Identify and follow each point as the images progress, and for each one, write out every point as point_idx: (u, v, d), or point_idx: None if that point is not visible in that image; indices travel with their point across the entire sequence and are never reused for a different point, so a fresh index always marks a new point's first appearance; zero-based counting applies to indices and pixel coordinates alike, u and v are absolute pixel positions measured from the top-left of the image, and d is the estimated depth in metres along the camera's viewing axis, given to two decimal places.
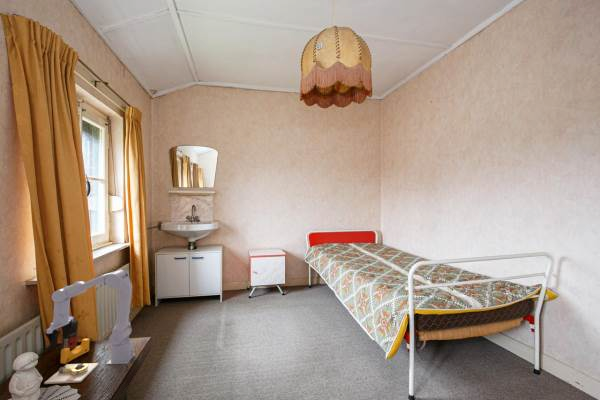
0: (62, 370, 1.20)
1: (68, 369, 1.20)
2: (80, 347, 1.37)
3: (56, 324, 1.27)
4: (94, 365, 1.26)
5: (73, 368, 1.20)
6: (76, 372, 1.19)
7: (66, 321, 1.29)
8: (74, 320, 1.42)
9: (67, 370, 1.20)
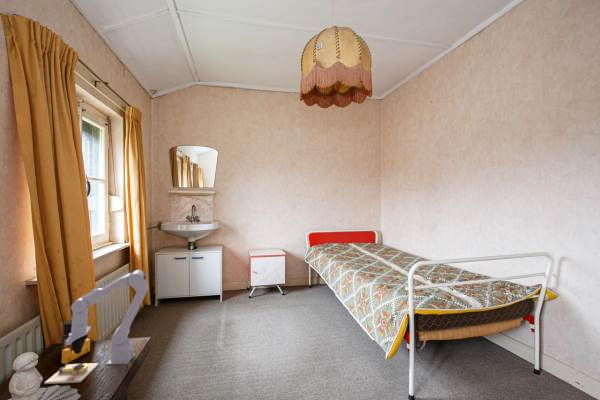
0: (62, 370, 1.20)
1: (68, 369, 1.20)
2: None
3: (74, 335, 1.24)
4: (94, 365, 1.26)
5: (73, 368, 1.20)
6: (76, 372, 1.19)
7: (84, 332, 1.27)
8: None
9: (67, 370, 1.20)
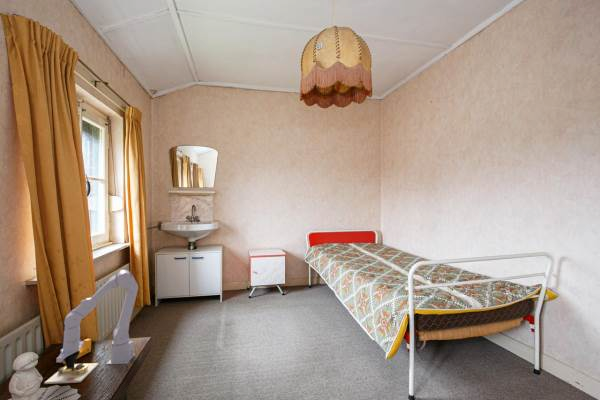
0: (62, 370, 1.19)
1: (68, 369, 1.20)
2: (82, 347, 1.37)
3: (66, 351, 1.19)
4: (94, 365, 1.26)
5: (73, 368, 1.20)
6: (76, 372, 1.19)
7: (77, 347, 1.22)
8: None
9: (67, 370, 1.20)
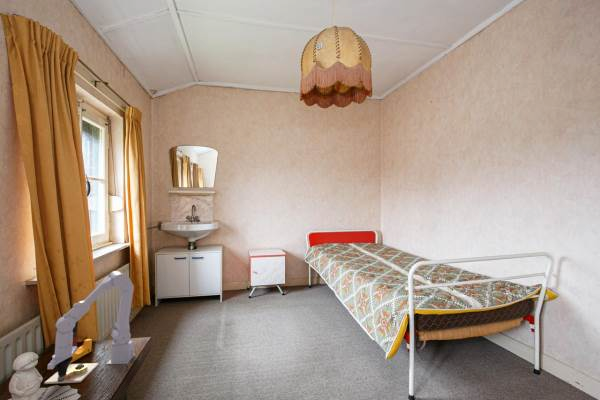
0: (64, 377, 1.15)
1: (70, 373, 1.17)
2: (83, 347, 1.37)
3: (58, 357, 1.14)
4: (94, 365, 1.26)
5: (75, 370, 1.19)
6: (85, 369, 1.21)
7: (69, 353, 1.17)
8: None
9: (69, 375, 1.17)
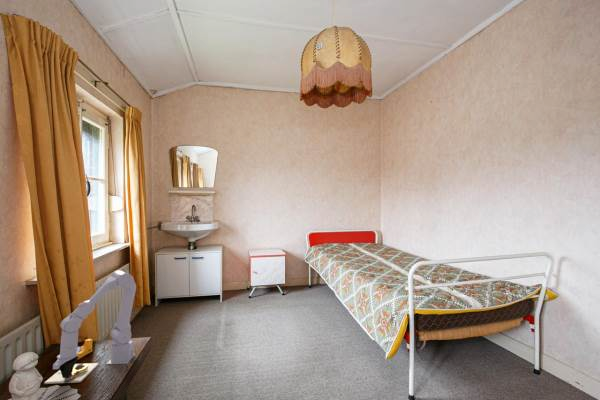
0: (71, 377, 1.15)
1: (74, 373, 1.17)
2: (83, 348, 1.37)
3: (63, 358, 1.14)
4: (94, 365, 1.26)
5: (78, 370, 1.19)
6: (87, 367, 1.22)
7: (74, 354, 1.17)
8: None
9: (74, 375, 1.17)
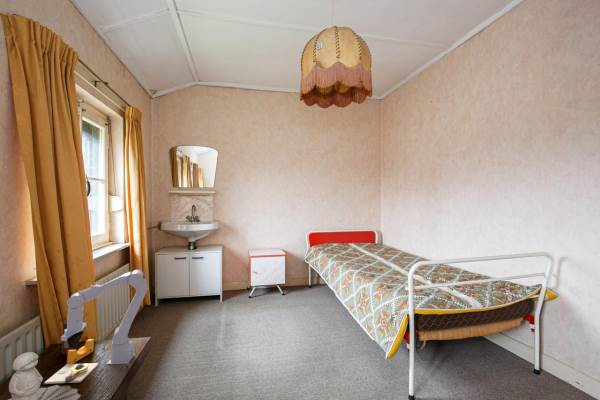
0: (72, 377, 1.15)
1: (75, 373, 1.17)
2: (85, 348, 1.37)
3: (70, 331, 1.22)
4: (94, 365, 1.26)
5: (78, 369, 1.19)
6: (87, 367, 1.22)
7: (80, 328, 1.25)
8: None
9: (74, 375, 1.17)
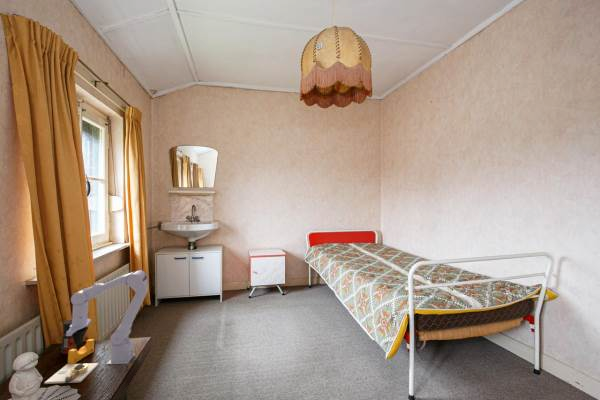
0: (72, 377, 1.15)
1: (75, 373, 1.17)
2: (85, 348, 1.37)
3: (75, 326, 1.26)
4: (94, 365, 1.26)
5: (78, 369, 1.19)
6: (87, 367, 1.22)
7: (85, 323, 1.29)
8: None
9: (74, 375, 1.17)
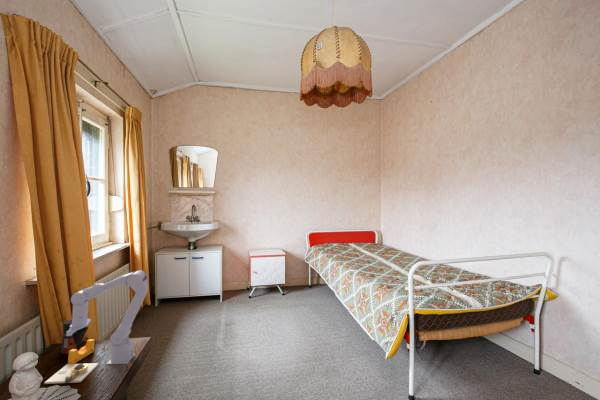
0: (72, 377, 1.15)
1: (75, 373, 1.17)
2: (86, 348, 1.37)
3: (75, 326, 1.26)
4: (94, 365, 1.26)
5: (78, 369, 1.19)
6: (87, 367, 1.22)
7: (85, 323, 1.29)
8: None
9: (74, 375, 1.17)
